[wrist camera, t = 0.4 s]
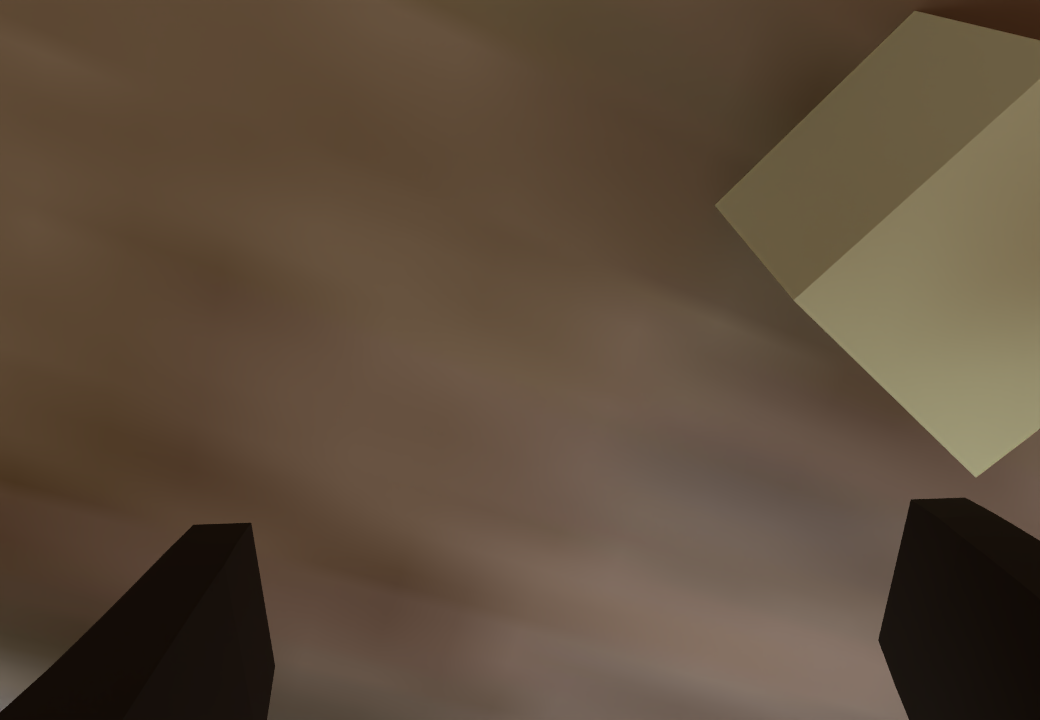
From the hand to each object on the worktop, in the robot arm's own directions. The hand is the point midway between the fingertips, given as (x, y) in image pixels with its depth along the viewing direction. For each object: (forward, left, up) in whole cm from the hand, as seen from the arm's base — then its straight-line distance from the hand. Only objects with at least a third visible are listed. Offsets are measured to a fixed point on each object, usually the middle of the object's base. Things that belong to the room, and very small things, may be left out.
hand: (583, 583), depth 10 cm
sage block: (-4, -6, -10) cm, 12 cm away
